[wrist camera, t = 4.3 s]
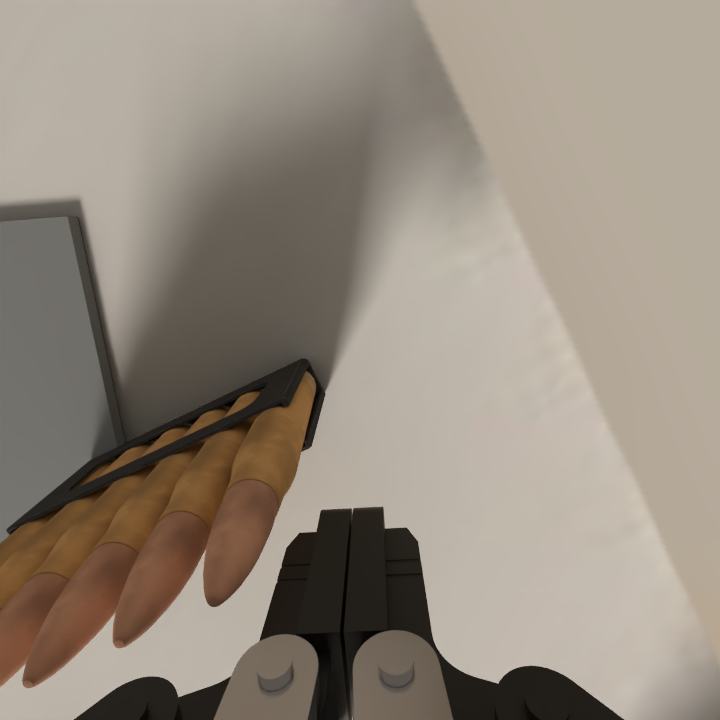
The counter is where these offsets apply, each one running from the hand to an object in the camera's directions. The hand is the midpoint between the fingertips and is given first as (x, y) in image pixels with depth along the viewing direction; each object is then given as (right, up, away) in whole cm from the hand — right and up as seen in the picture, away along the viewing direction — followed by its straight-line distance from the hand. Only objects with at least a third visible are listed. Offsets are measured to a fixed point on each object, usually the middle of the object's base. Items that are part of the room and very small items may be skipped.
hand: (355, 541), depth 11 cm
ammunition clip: (-6, +1, +8) cm, 11 cm away
